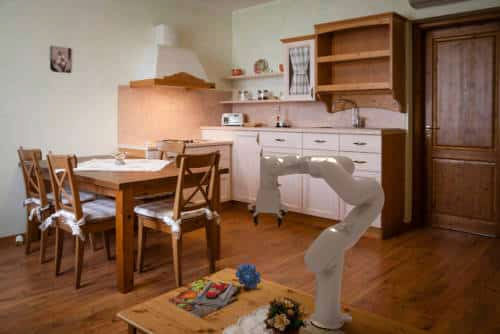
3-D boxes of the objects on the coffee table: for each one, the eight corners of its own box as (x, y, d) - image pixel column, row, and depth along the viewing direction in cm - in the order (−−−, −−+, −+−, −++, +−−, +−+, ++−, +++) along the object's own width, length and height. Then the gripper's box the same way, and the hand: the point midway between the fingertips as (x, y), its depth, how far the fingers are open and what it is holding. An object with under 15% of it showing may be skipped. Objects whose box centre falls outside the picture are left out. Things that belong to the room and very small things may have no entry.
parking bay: (237, 287, 198) (237, 282, 198) (224, 307, 178) (224, 301, 178) (207, 284, 201) (207, 279, 201) (192, 303, 181) (192, 298, 180)
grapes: (233, 291, 194) (234, 265, 193) (235, 285, 201) (236, 260, 199) (259, 293, 193) (260, 266, 191) (261, 287, 199) (261, 261, 198)
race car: (214, 300, 182) (214, 291, 181) (203, 298, 184) (203, 288, 184) (230, 289, 193) (230, 280, 193) (219, 287, 196) (219, 278, 195)
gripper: (290, 185, 182) (289, 225, 184) (250, 183, 185) (249, 222, 187) (288, 188, 174) (287, 229, 176) (246, 185, 178) (245, 226, 180)
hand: (267, 225), depth 182 cm, fingers open, 9 cm apart
